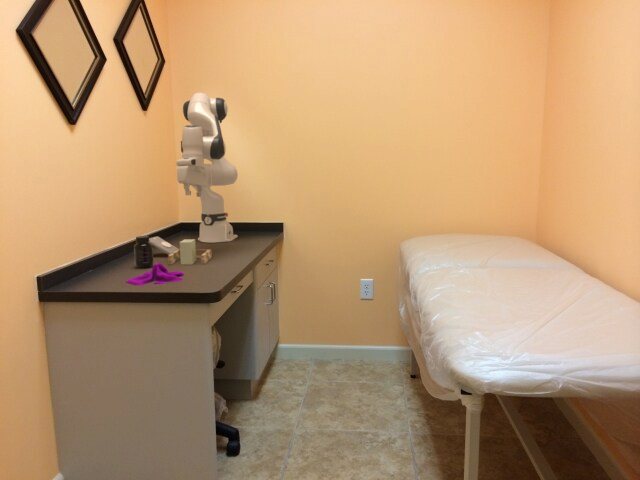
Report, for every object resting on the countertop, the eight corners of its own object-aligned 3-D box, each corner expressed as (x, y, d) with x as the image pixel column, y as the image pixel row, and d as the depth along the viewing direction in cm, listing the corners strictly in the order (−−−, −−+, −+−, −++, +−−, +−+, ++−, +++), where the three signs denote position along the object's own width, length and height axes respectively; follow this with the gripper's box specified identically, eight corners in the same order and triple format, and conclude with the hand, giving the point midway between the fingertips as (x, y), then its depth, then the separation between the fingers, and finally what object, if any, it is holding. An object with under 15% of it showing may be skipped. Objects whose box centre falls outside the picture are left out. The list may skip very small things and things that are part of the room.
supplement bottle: (134, 265, 198) (132, 235, 196) (152, 264, 200) (151, 234, 198) (135, 269, 191) (133, 238, 189) (154, 267, 194) (152, 237, 192)
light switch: (175, 254, 212) (147, 237, 214) (170, 265, 214) (142, 248, 215) (185, 250, 220) (158, 234, 222) (179, 261, 222) (153, 245, 224)
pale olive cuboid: (185, 260, 206) (184, 239, 205) (196, 260, 206) (195, 239, 205) (180, 264, 199) (179, 242, 198) (192, 264, 199) (190, 242, 198)
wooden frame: (177, 257, 213) (177, 249, 212) (211, 257, 213) (211, 249, 212) (168, 264, 199) (167, 256, 198) (204, 264, 199) (203, 255, 198)
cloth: (119, 287, 167) (118, 269, 166) (140, 274, 185) (138, 258, 184) (185, 286, 167) (184, 268, 166) (199, 274, 185) (198, 257, 184)
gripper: (198, 166, 221) (198, 197, 222) (173, 160, 201) (174, 194, 202) (211, 166, 220) (211, 197, 220) (188, 159, 200) (188, 194, 200)
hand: (193, 196), depth 211 cm, fingers open, 8 cm apart
